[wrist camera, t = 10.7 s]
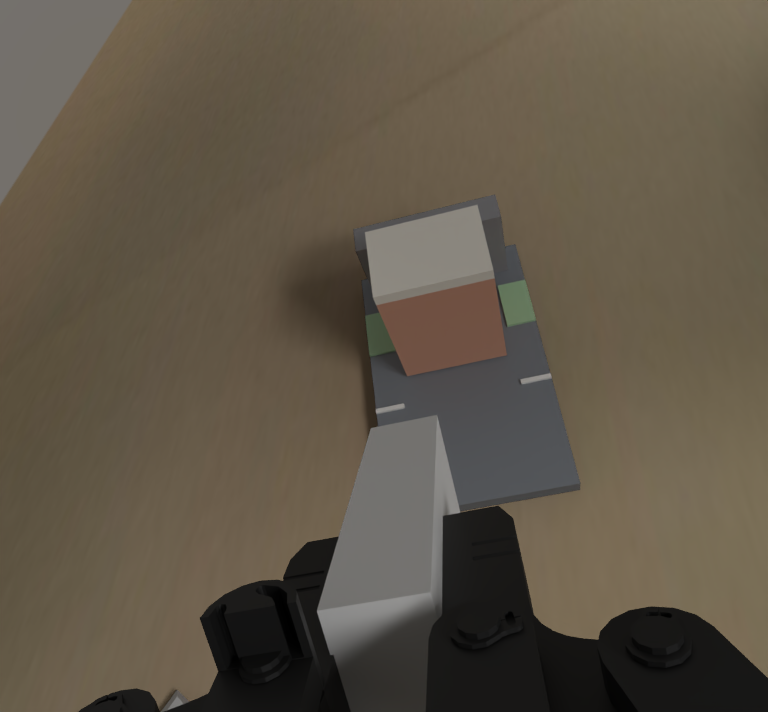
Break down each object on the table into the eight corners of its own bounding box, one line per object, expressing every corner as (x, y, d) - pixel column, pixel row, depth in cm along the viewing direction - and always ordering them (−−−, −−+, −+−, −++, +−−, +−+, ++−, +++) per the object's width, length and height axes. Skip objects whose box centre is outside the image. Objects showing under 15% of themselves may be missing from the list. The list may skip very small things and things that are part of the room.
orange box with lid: (493, 296, 49) (477, 204, 41) (506, 355, 46) (493, 270, 38) (398, 317, 50) (364, 232, 42) (407, 376, 47) (373, 297, 39)
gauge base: (516, 254, 52) (509, 188, 46) (579, 489, 42) (581, 446, 36) (365, 289, 54) (339, 230, 48) (392, 523, 44) (364, 487, 38)
